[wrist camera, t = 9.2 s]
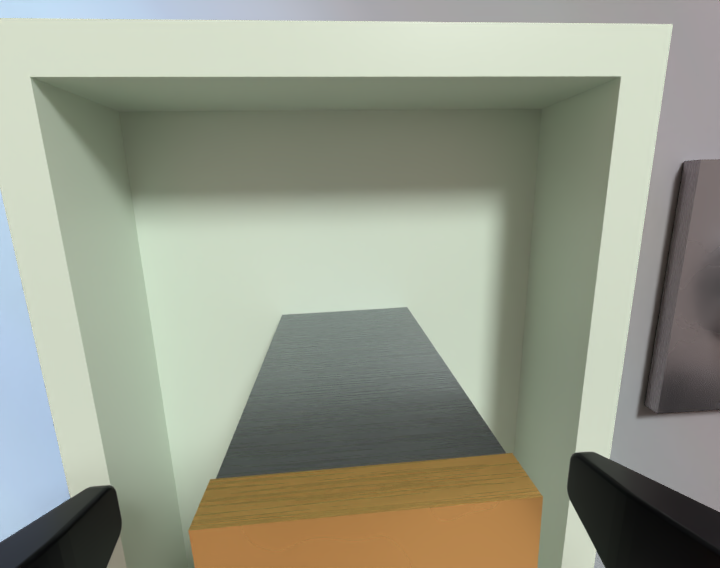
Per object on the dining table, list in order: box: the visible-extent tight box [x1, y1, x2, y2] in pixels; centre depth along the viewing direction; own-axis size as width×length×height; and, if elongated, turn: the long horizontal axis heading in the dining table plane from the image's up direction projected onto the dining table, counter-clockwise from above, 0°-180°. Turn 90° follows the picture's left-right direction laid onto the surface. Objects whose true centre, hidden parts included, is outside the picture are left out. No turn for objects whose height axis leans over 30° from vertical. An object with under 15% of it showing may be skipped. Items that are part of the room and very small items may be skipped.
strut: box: [188, 307, 543, 568], centre depth 9 cm, size 4×4×8 cm
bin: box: [0, 18, 673, 568], centre depth 12 cm, size 18×14×4 cm
